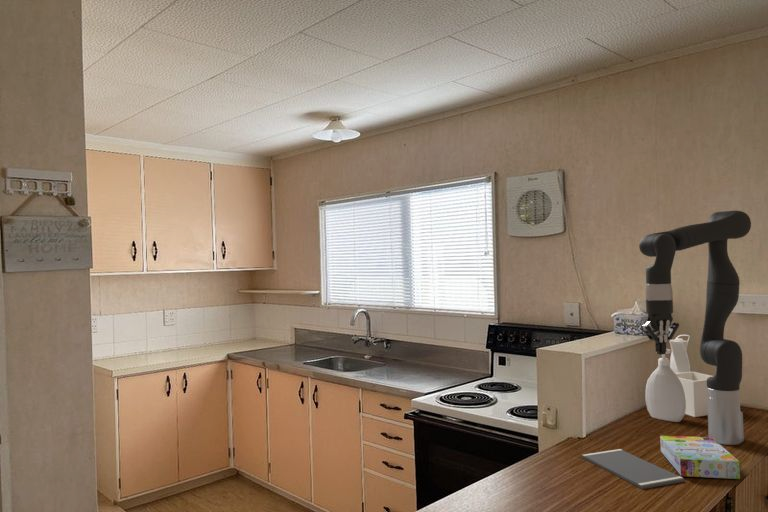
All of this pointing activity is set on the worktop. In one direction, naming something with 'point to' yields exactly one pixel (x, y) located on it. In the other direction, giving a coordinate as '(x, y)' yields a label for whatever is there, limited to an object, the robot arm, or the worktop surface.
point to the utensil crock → (695, 392)
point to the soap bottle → (665, 393)
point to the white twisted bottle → (679, 355)
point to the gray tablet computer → (632, 468)
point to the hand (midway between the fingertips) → (661, 354)
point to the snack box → (699, 457)
